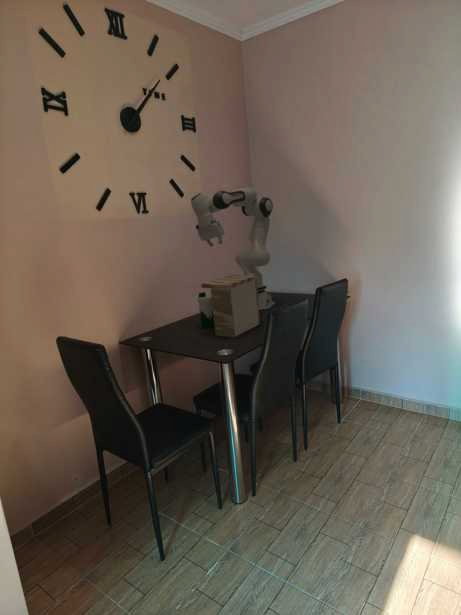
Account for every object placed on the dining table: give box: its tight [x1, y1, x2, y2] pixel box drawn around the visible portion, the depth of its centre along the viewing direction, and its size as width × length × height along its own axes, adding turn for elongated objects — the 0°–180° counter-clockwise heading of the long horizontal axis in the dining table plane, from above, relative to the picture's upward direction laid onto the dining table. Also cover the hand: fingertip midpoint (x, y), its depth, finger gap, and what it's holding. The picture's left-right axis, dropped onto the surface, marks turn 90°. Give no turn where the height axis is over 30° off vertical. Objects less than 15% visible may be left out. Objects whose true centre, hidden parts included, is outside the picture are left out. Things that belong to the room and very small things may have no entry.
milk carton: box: [197, 291, 215, 329], centre depth 236 cm, size 9×9×20 cm
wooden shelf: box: [200, 274, 261, 338], centre depth 224 cm, size 26×18×28 cm
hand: (216, 245), depth 234 cm, fingers open, 8 cm apart
